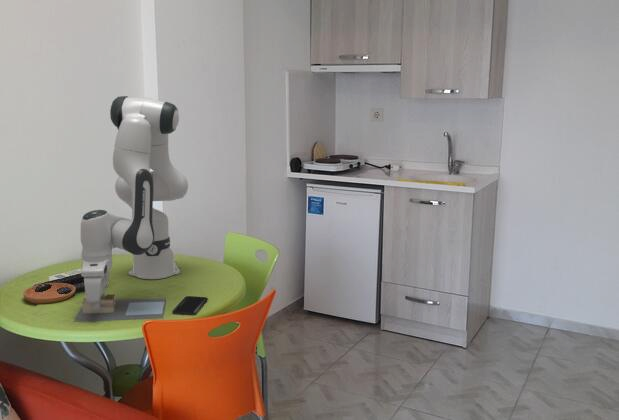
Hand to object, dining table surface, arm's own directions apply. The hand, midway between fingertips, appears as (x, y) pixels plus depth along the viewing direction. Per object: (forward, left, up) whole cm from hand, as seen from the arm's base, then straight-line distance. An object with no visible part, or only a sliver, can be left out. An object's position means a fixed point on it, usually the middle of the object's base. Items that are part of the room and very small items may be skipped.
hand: (99, 305), depth 191 cm
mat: (0, +7, -2) cm, 7 cm away
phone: (-2, +28, -3) cm, 28 cm away
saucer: (-15, -18, -3) cm, 24 cm away
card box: (0, 0, -2) cm, 2 cm away
